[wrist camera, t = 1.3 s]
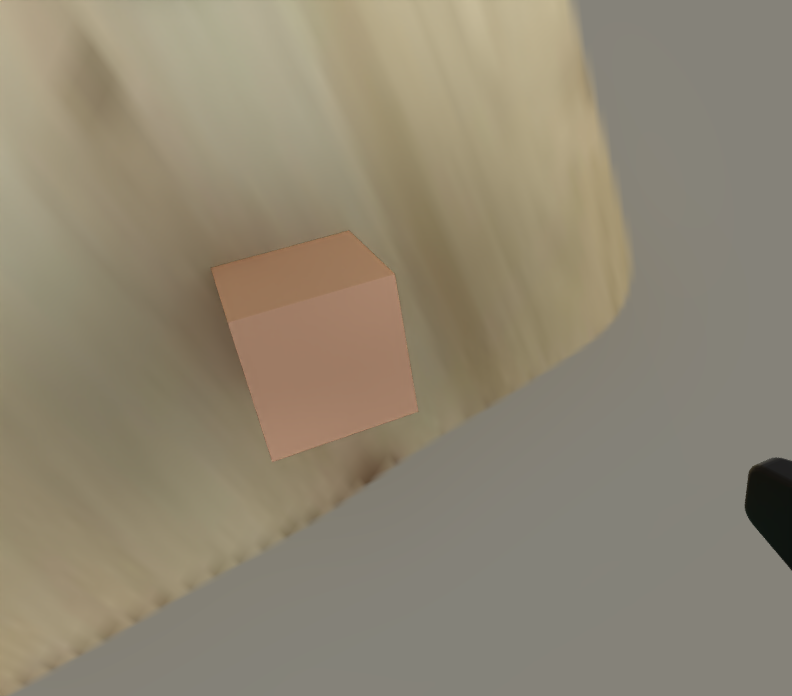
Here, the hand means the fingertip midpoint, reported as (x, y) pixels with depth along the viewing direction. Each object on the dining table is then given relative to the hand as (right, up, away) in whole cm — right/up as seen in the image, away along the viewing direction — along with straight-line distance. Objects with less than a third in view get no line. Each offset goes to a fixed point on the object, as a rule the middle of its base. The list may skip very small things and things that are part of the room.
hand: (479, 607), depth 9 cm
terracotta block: (-4, +5, +11) cm, 12 cm away
